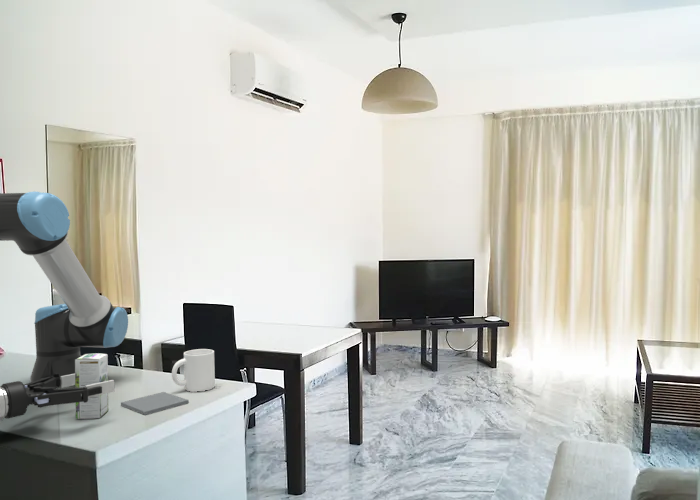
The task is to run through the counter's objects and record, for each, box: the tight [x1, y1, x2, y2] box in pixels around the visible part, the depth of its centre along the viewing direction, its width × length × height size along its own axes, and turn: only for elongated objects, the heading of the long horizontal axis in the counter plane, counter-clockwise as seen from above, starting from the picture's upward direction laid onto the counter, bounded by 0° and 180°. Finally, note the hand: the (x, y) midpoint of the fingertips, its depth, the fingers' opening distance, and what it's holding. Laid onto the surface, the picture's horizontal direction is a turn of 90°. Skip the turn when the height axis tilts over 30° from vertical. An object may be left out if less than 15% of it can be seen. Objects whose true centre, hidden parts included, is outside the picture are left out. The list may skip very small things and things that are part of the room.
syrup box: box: [74, 352, 109, 420], centre depth 135 cm, size 6×6×14 cm
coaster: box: [120, 391, 190, 416], centre depth 143 cm, size 12×12×1 cm
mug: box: [171, 348, 216, 393], centre depth 156 cm, size 12×8×10 cm
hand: (100, 380), depth 136 cm, fingers open, 13 cm apart
